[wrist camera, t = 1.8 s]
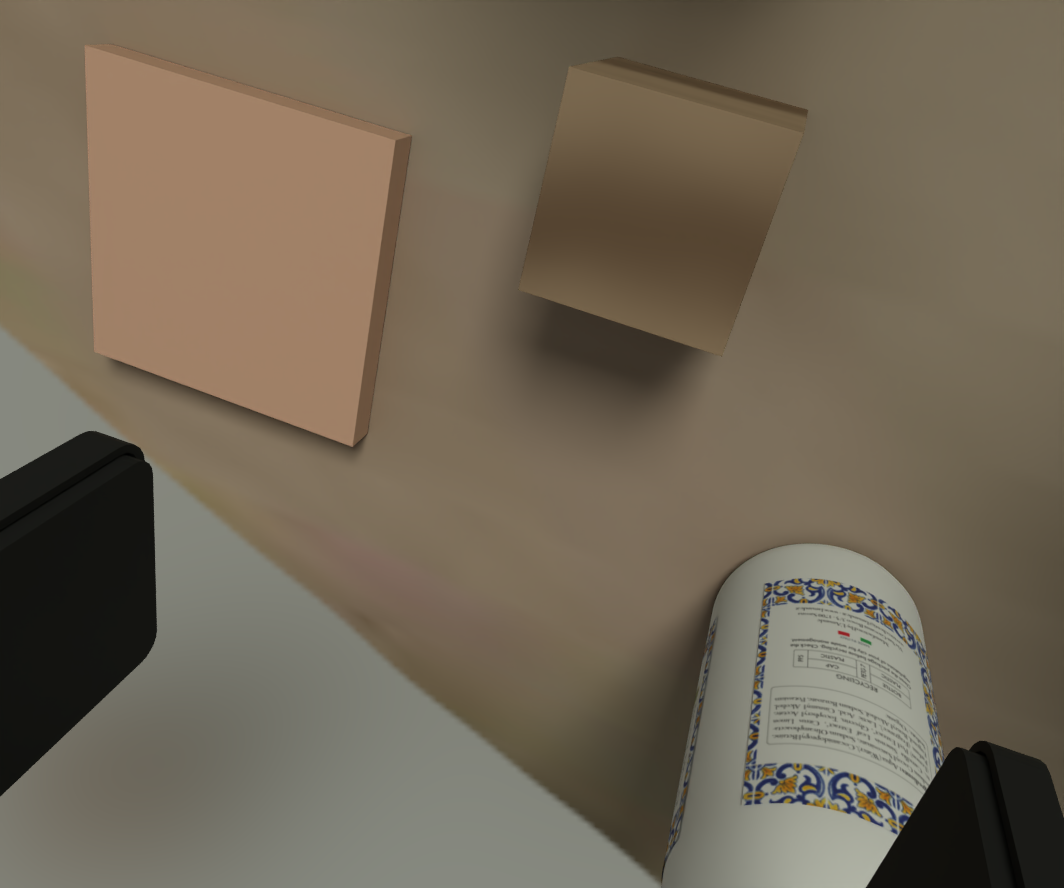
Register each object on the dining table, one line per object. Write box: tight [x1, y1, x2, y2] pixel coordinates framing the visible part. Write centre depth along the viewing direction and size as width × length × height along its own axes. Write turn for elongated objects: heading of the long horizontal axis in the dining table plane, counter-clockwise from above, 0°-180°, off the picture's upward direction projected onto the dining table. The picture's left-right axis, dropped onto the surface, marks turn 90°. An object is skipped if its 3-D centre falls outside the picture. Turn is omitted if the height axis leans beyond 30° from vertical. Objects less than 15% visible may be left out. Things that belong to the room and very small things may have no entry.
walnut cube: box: [518, 57, 808, 356], centre depth 23 cm, size 6×6×6 cm
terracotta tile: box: [85, 44, 412, 447], centre depth 30 cm, size 11×11×1 cm
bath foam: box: [662, 543, 944, 888], centre depth 22 cm, size 7×7×20 cm
